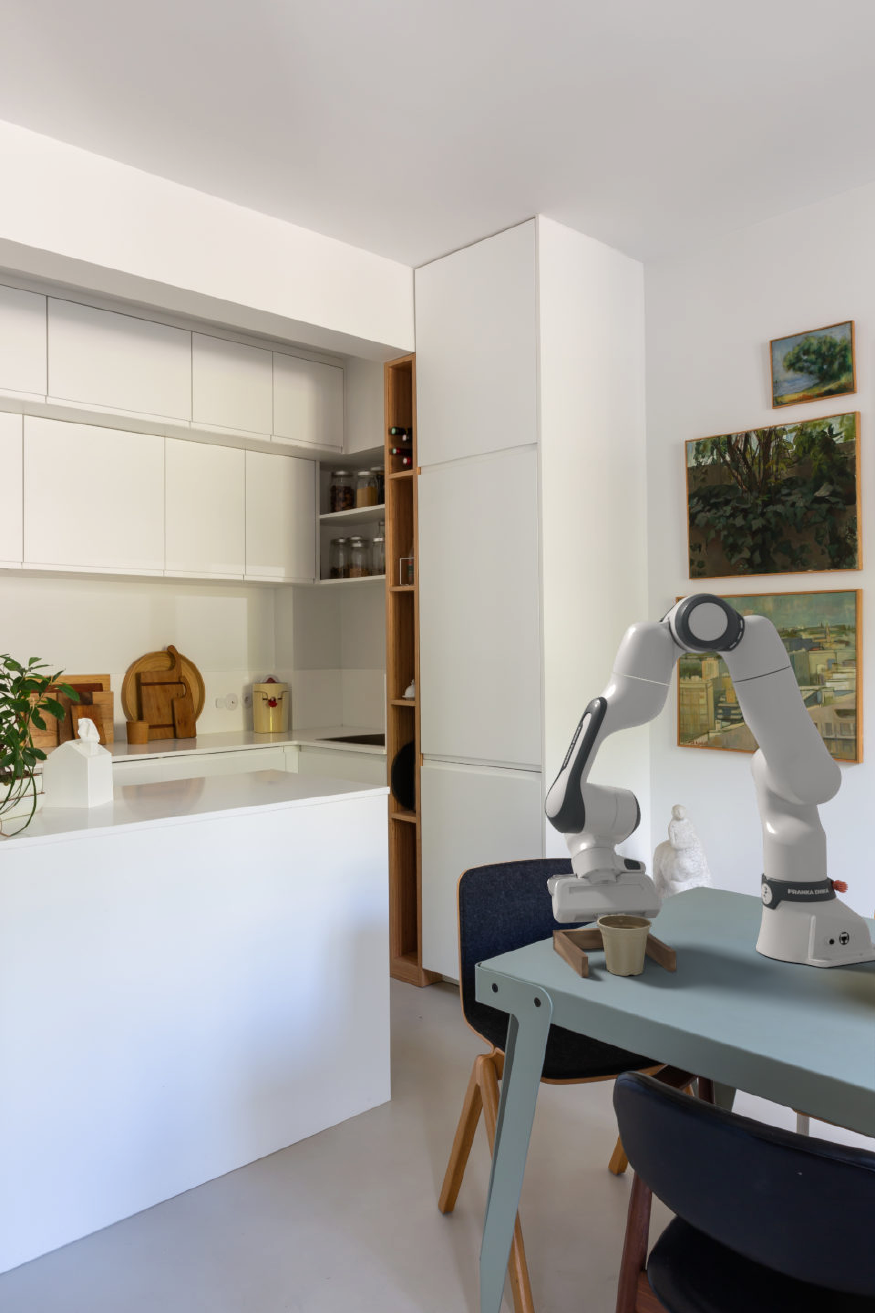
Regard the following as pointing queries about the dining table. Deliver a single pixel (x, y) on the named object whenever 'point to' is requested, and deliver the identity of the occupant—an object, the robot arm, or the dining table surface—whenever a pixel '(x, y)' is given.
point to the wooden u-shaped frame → (577, 939)
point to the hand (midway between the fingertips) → (616, 939)
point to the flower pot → (624, 943)
